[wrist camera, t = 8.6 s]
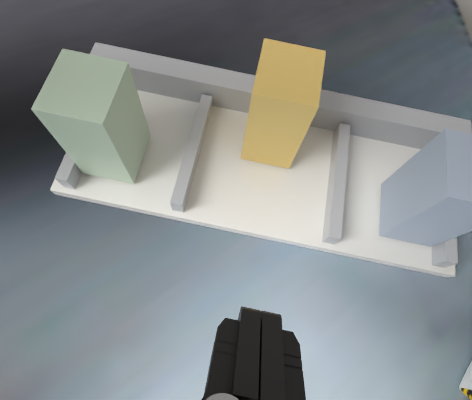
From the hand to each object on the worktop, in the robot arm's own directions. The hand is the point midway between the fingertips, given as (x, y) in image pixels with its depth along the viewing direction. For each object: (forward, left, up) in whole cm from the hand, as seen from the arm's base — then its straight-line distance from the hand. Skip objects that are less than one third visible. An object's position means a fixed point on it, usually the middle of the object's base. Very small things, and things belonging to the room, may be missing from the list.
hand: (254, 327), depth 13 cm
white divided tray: (+11, +10, -15) cm, 21 cm away
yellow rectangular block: (+12, +12, -14) cm, 22 cm away
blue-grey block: (+18, -1, -14) cm, 22 cm away
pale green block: (-1, +18, -14) cm, 22 cm away
